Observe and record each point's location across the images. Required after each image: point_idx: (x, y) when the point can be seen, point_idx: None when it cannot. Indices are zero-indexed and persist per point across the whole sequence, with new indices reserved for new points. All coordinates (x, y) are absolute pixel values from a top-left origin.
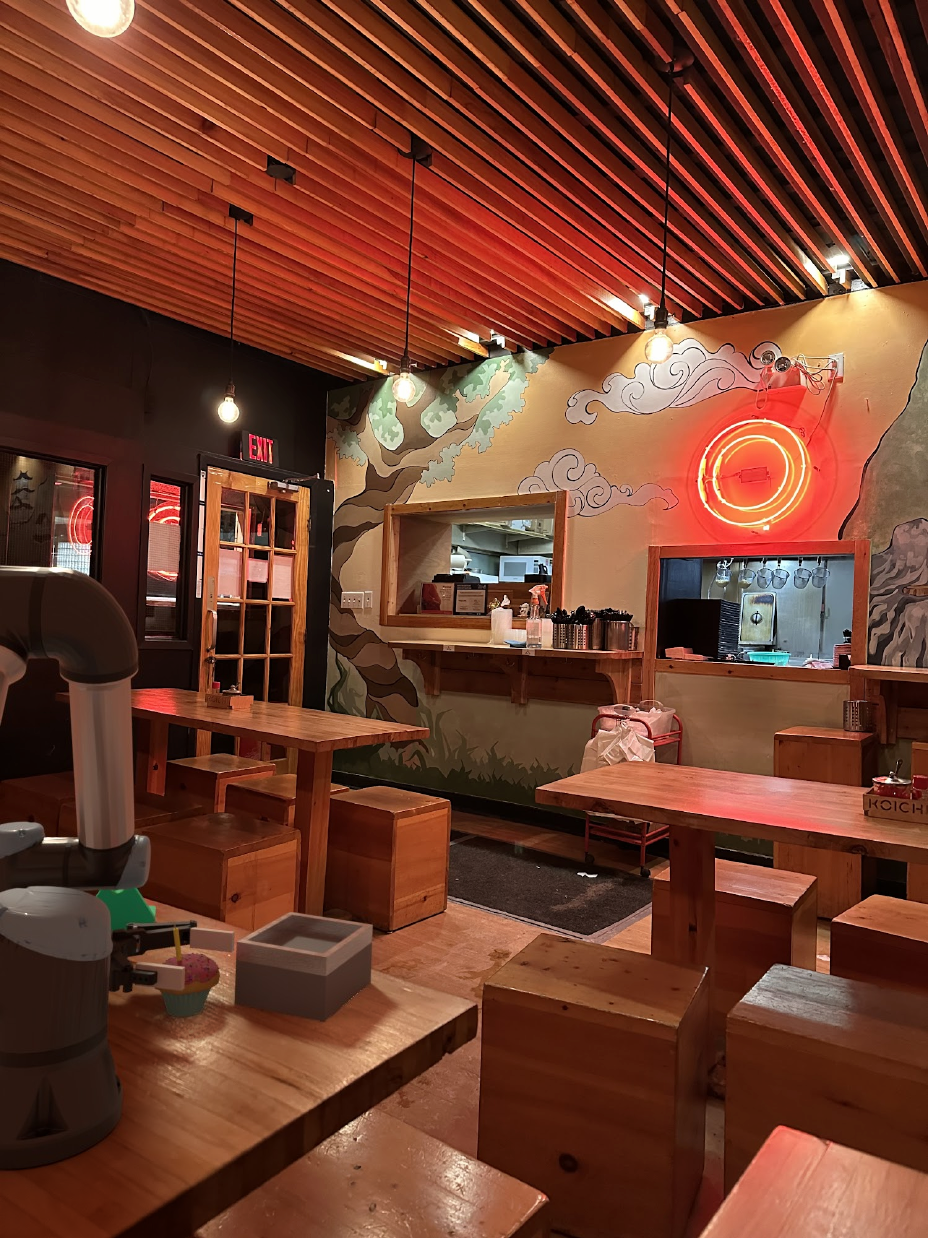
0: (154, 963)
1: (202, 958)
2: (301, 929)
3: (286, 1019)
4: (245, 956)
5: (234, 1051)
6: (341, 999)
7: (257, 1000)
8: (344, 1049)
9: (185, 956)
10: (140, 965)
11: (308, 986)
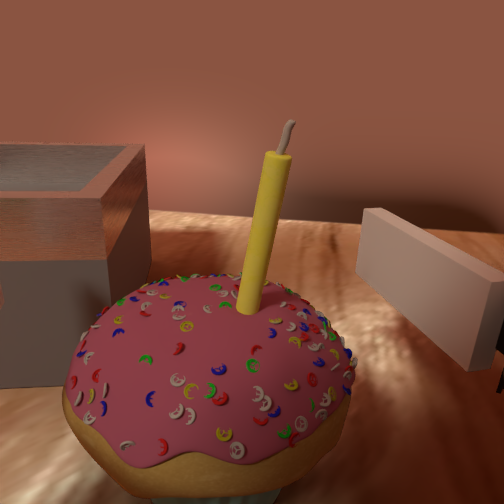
0: (434, 249)
1: (176, 279)
2: None
3: None
4: (112, 230)
5: (318, 296)
6: None
7: None
8: (221, 233)
9: (207, 302)
10: (495, 271)
11: (144, 215)
